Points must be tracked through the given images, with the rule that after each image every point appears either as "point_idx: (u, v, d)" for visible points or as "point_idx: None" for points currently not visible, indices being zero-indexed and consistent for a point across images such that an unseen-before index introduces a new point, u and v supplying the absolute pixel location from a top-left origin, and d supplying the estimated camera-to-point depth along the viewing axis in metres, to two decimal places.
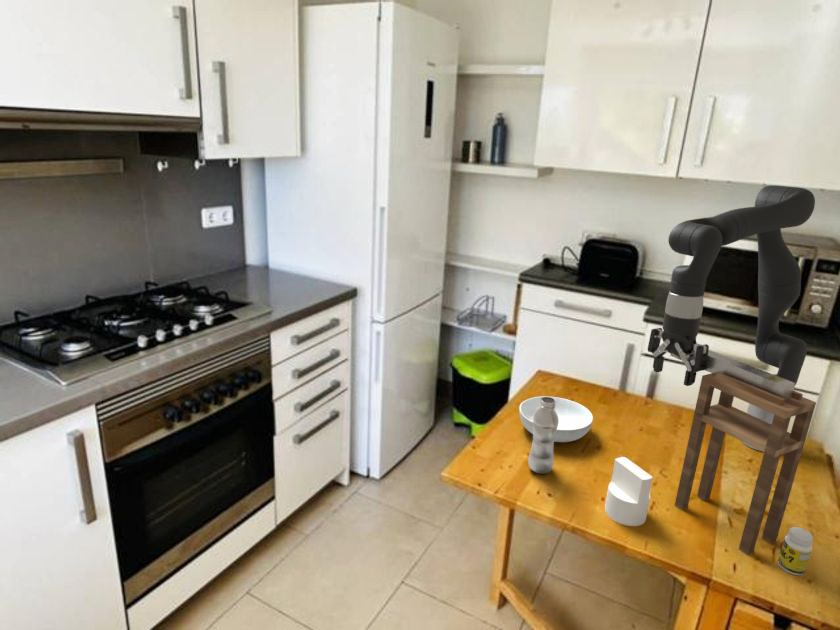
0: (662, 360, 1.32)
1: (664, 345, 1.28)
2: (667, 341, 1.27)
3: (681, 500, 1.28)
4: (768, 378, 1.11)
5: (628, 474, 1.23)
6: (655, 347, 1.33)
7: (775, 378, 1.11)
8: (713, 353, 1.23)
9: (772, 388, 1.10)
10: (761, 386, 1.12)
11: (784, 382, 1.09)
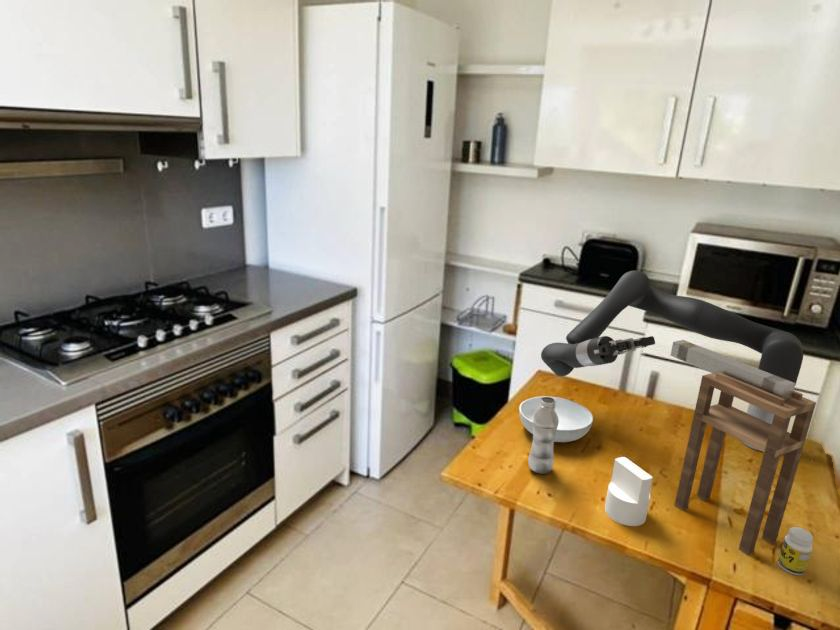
0: (643, 340, 1.44)
1: None
2: None
3: (681, 500, 1.28)
4: (768, 378, 1.11)
5: (628, 474, 1.23)
6: None
7: (775, 378, 1.11)
8: (713, 353, 1.23)
9: (772, 388, 1.10)
10: (761, 386, 1.12)
11: (784, 382, 1.09)
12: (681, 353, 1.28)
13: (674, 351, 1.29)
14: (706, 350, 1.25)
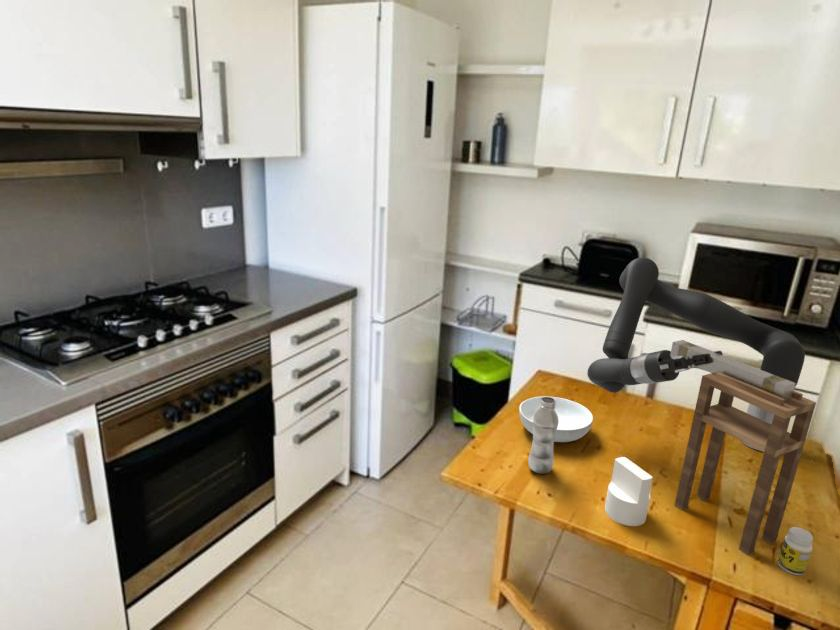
0: None
1: (690, 368, 1.30)
2: (684, 370, 1.31)
3: (681, 500, 1.28)
4: (768, 378, 1.11)
5: (628, 474, 1.23)
6: None
7: (775, 378, 1.11)
8: (713, 353, 1.23)
9: (773, 388, 1.10)
10: (762, 386, 1.12)
11: (784, 382, 1.09)
12: (681, 353, 1.28)
13: (674, 351, 1.29)
14: (705, 350, 1.25)
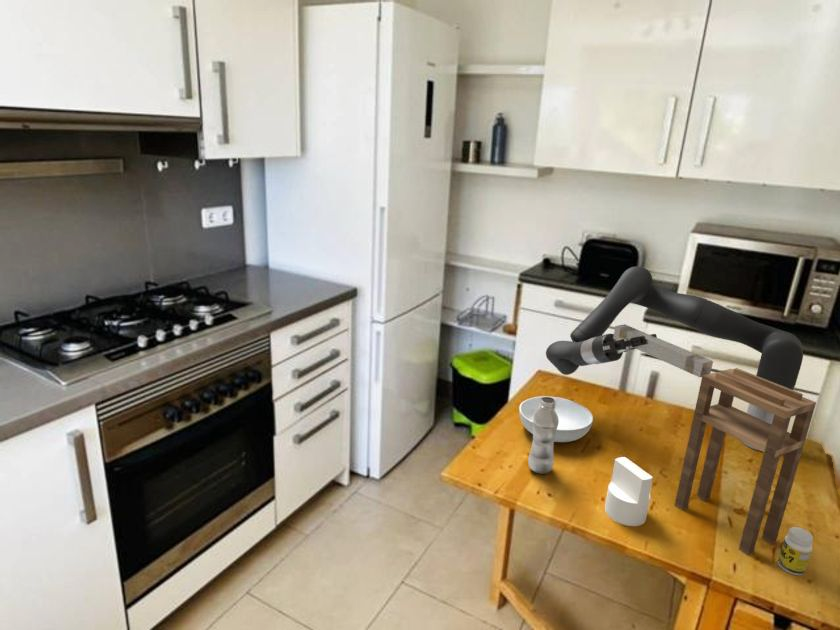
0: None
1: (631, 349, 1.45)
2: (626, 351, 1.46)
3: (681, 500, 1.28)
4: (690, 357, 1.26)
5: (628, 474, 1.22)
6: None
7: (697, 357, 1.26)
8: (648, 336, 1.38)
9: (694, 365, 1.25)
10: (685, 363, 1.27)
11: (703, 360, 1.24)
12: (621, 336, 1.43)
13: (616, 334, 1.44)
14: (642, 333, 1.40)
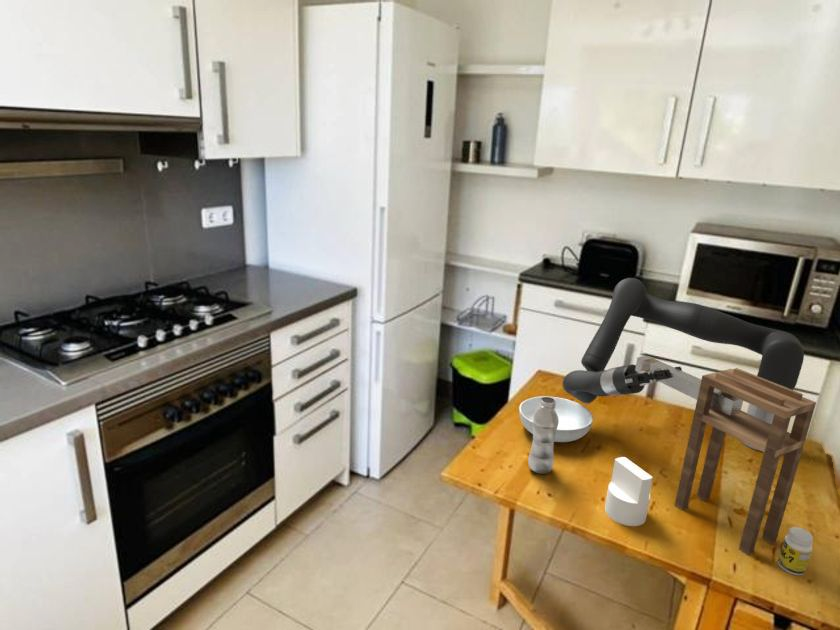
0: None
1: None
2: None
3: (681, 500, 1.28)
4: (719, 393, 1.21)
5: (628, 474, 1.23)
6: None
7: (726, 393, 1.21)
8: (673, 369, 1.33)
9: (723, 402, 1.19)
10: (714, 400, 1.22)
11: (733, 397, 1.19)
12: (644, 368, 1.38)
13: (638, 366, 1.39)
14: (666, 366, 1.34)
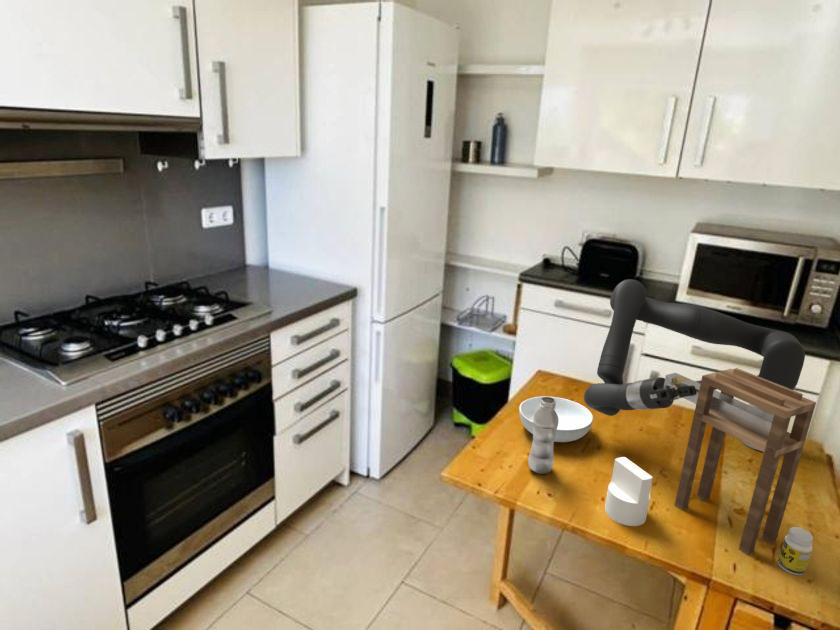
0: None
1: None
2: None
3: (681, 500, 1.28)
4: (758, 416, 1.13)
5: (628, 474, 1.23)
6: None
7: (765, 416, 1.14)
8: None
9: (763, 426, 1.12)
10: (752, 423, 1.14)
11: None
12: None
13: None
14: (698, 384, 1.27)
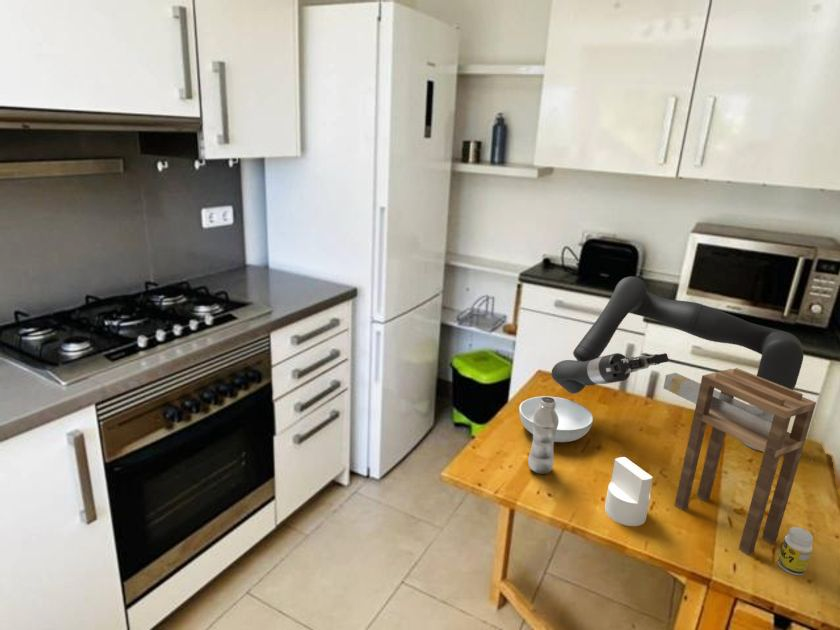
0: (656, 357, 1.41)
1: (639, 369, 1.44)
2: (633, 371, 1.45)
3: (681, 500, 1.28)
4: (758, 416, 1.13)
5: (628, 474, 1.23)
6: None
7: (765, 416, 1.14)
8: None
9: (763, 426, 1.12)
10: (752, 423, 1.14)
11: None
12: (674, 386, 1.30)
13: (667, 384, 1.32)
14: (698, 384, 1.27)
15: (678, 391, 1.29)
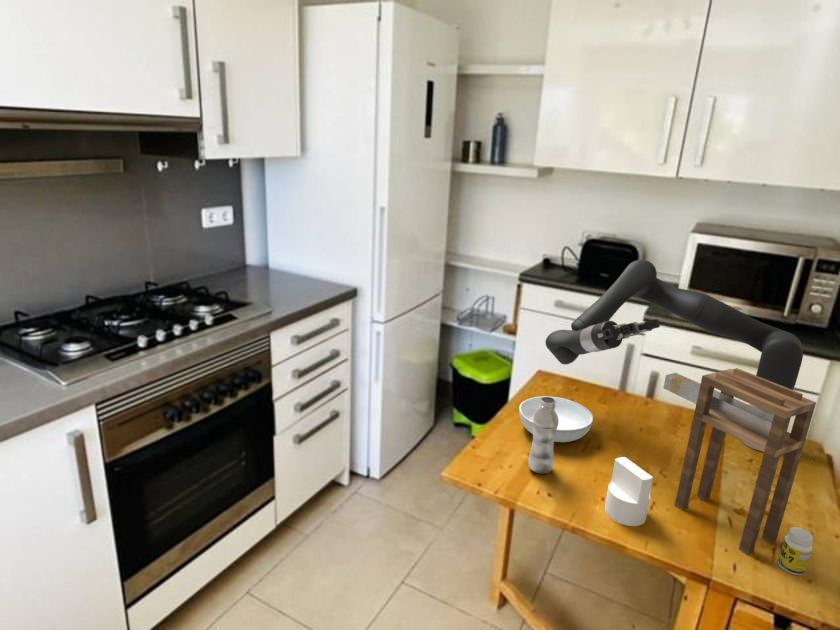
0: (647, 323, 1.42)
1: None
2: (625, 338, 1.46)
3: (681, 500, 1.28)
4: (758, 416, 1.13)
5: (628, 474, 1.22)
6: None
7: (765, 416, 1.14)
8: None
9: (763, 426, 1.12)
10: (752, 423, 1.14)
11: None
12: (674, 386, 1.30)
13: (667, 384, 1.32)
14: (698, 384, 1.27)
15: (678, 391, 1.29)
